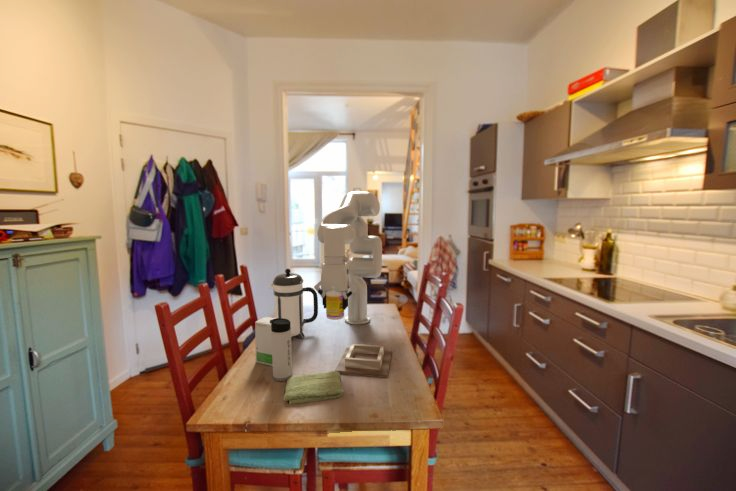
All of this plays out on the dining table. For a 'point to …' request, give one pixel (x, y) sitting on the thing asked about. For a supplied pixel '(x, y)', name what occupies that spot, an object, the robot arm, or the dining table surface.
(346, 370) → the collar dock
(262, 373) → the dining table surface
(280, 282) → the coffee press
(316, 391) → the washcloth
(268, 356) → the skincare box
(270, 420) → the dining table surface
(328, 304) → the supplement bottle
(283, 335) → the travel mug
